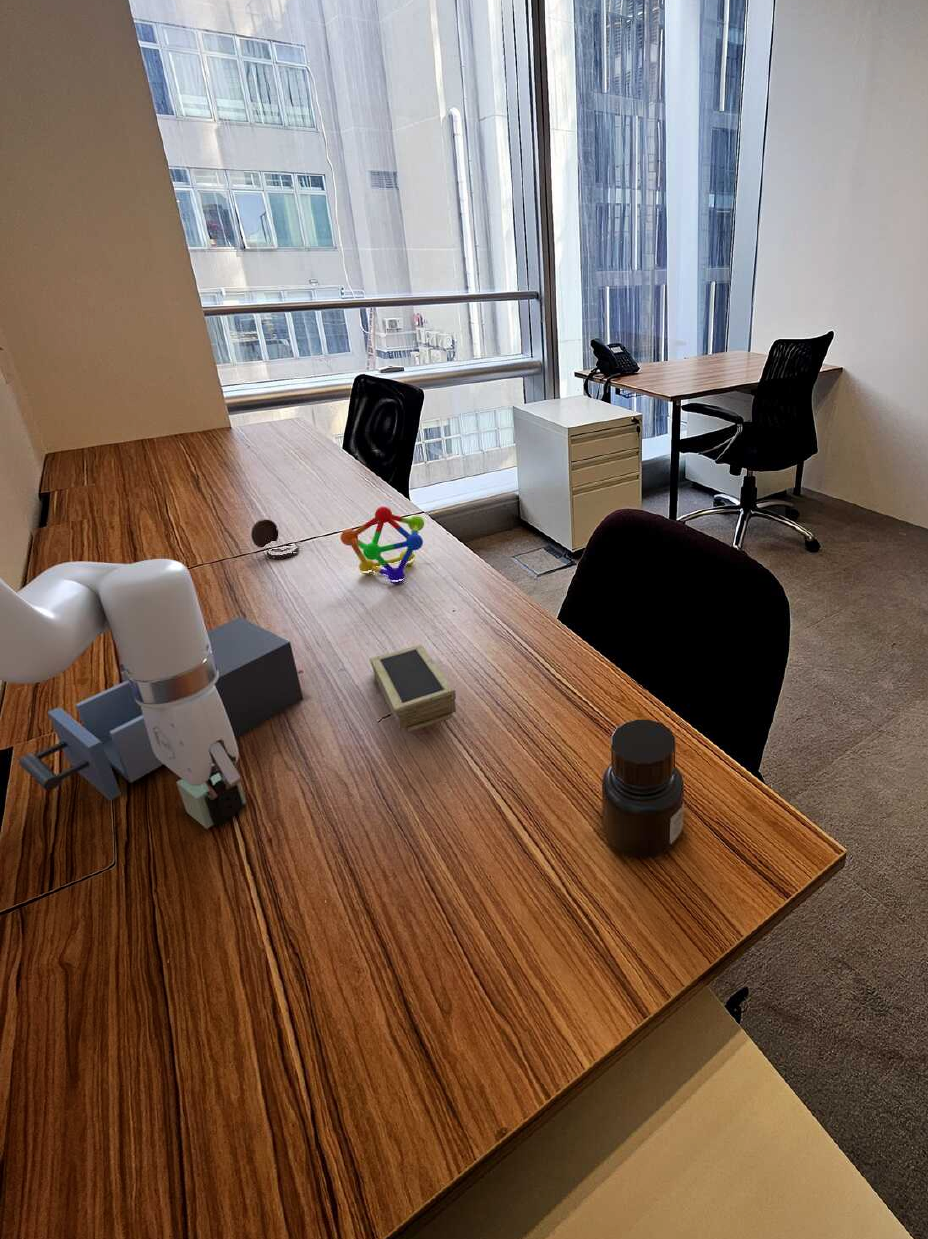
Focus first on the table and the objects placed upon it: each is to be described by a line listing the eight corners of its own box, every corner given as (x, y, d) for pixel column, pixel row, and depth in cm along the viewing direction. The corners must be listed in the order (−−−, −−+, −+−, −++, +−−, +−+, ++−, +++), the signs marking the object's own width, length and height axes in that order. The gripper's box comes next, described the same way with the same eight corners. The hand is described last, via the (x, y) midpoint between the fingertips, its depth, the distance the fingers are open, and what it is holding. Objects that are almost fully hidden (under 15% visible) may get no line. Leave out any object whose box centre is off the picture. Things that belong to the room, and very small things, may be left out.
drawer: (65, 827, 72) (41, 772, 69) (25, 785, 78) (1, 732, 75) (227, 733, 86) (213, 684, 83) (183, 704, 92) (168, 657, 89)
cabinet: (197, 760, 83) (177, 698, 79) (149, 725, 89) (129, 665, 85) (303, 698, 94) (290, 641, 90) (254, 671, 100) (240, 616, 97)
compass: (284, 561, 136) (277, 529, 133) (254, 556, 138) (246, 524, 135) (312, 546, 143) (306, 515, 140) (283, 541, 145) (277, 511, 142)
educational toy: (378, 605, 121) (357, 532, 114) (350, 581, 130) (329, 513, 123) (452, 571, 130) (436, 503, 123) (421, 551, 139) (406, 486, 132)
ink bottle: (696, 852, 70) (700, 764, 65) (616, 873, 67) (615, 783, 63) (664, 786, 78) (666, 704, 74) (593, 802, 76) (590, 719, 71)
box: (402, 746, 83) (395, 710, 82) (366, 681, 102) (361, 651, 100) (465, 724, 87) (460, 689, 86) (420, 665, 106) (415, 636, 105)
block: (206, 829, 73) (196, 798, 71) (186, 812, 75) (176, 782, 73) (246, 802, 76) (237, 772, 75) (225, 787, 79) (216, 757, 77)
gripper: (97, 667, 70) (145, 797, 77) (177, 723, 62) (222, 864, 68) (172, 634, 76) (211, 758, 83) (254, 682, 67) (289, 815, 74)
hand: (216, 805), depth 76 cm, fingers closed on block, 4 cm apart
